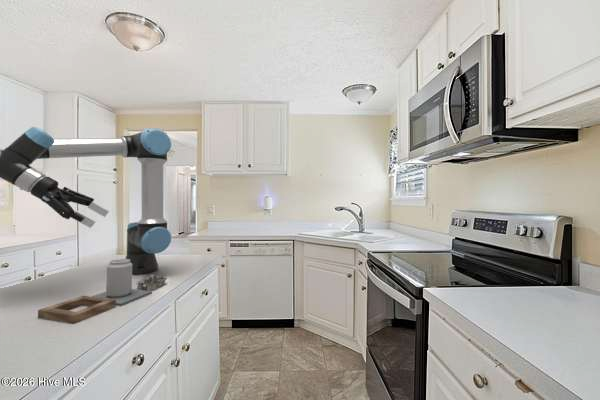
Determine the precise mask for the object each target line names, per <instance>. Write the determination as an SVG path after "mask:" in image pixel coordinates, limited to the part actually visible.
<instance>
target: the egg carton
mask: <svg viewBox="0 0 600 400" xmlns="http://www.w3.org/2000/svg"><path fill="white" fill-rule="evenodd" d="M166 280H168V277H167V276H166V277H164V276H161V275H154V274H151V275H149V276H147V277H144V278H143V279H141V280H136V282H135V284H136V285H137V289H136V290H144V291H152V292H153V291H156V290H157V289H158V288H161V286H165V285H166Z"/></svg>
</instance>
